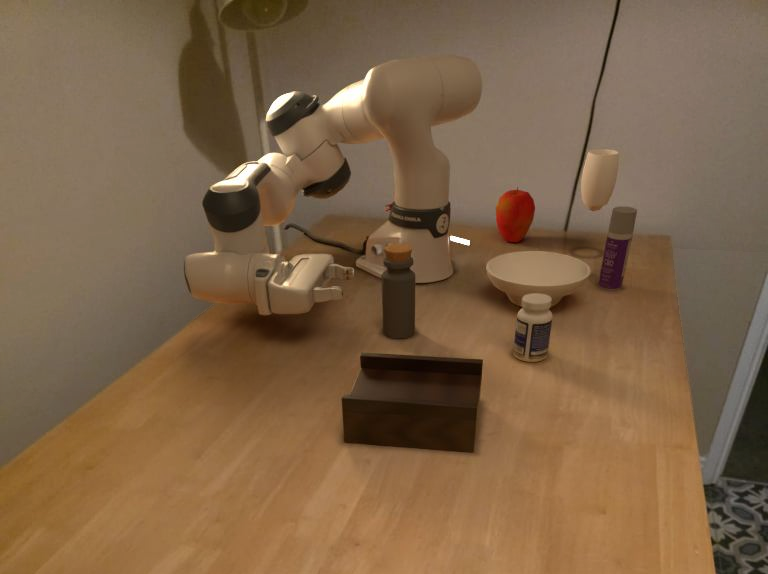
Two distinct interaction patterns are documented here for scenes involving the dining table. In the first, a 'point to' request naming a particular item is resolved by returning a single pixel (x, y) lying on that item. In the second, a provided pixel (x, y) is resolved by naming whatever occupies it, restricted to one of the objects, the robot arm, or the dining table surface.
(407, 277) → the bottle
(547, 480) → the dining table surface
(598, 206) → the cup
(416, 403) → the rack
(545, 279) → the bowl
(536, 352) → the pill bottle
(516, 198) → the apple
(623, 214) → the container
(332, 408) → the dining table surface
